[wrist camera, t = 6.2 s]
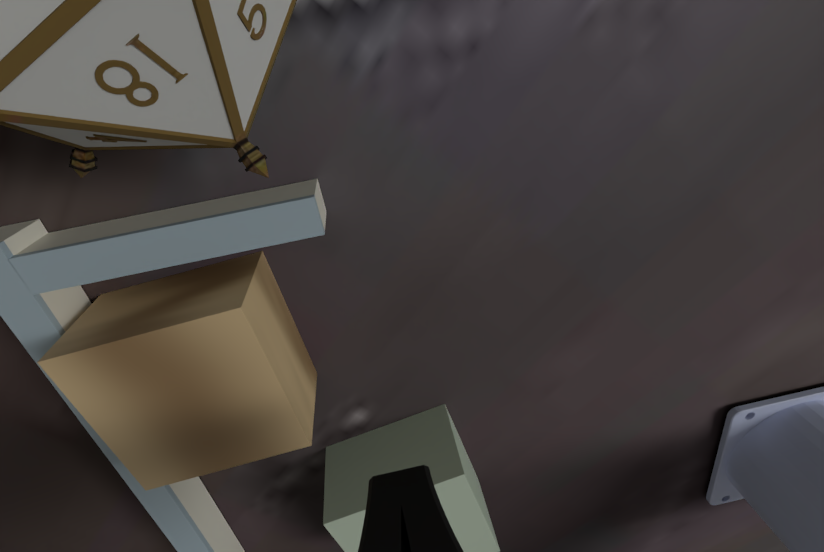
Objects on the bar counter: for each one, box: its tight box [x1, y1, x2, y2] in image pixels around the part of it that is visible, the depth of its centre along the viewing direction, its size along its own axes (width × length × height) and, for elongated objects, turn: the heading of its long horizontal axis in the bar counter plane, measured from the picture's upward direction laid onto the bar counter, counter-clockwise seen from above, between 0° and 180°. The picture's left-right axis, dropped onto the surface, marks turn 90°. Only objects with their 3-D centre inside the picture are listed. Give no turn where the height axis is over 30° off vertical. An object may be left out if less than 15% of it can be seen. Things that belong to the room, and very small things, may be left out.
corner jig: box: [0, 179, 326, 552], centre depth 19 cm, size 10×20×2 cm, turn 9°
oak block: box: [37, 251, 317, 491], centre depth 16 cm, size 6×6×4 cm
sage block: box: [323, 404, 500, 552], centre depth 21 cm, size 6×6×4 cm
